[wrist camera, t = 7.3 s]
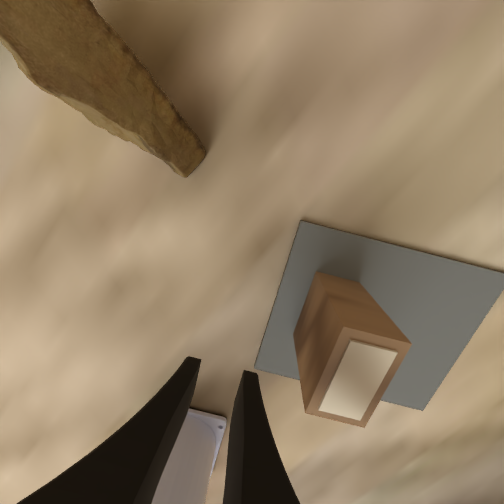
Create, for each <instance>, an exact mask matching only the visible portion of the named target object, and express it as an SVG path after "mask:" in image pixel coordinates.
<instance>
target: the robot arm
mask: <svg viewBox="0 0 504 504" xmlns="http://www.w3.org/2000/svg"><path fill="white" fill-rule="evenodd" d="M200 363H201V359H198V358H194V357H190V356H189V357H186V359H185V360H184V362H183V363H182V364H181V366H180V367H179V368H178V370H177V371H176V372H175V373H174V374H173V376H172V377H171V378H170V379H169V380H168V381H167V383H166V384H165V385H164V386H163V387H162V388H161V389H160V390H159V391H158V393H157V394H156V395H155V396H154V397H153V398H152V399H151V400H150V401H149V402H148V403H147V404H146V405H145V406H144V407H143V408H142V409H141V410H140V411H139V412H137V413H136V414H135V415H134V416H133V417H132V418H131V419H130V420H129V421H128V422H127V423H125V424H124V425H123V426H122V427H121V428H120V429H119V430H117V431H116V432H115V433H114V434H113V435H111V436H110V437H109V438H108V439H106V440H105V441H104V442H103V443H102V444H100V445H99V446H98V447H97V448H95V449H94V450H93V451H91V452H90V453H89V454H88V455H86V456H85V457H84V458H82V459H81V460H79V461H78V462H77V463H75V464H74V465H73V466H71V467H70V468H68V469H67V470H66V471H64V472H63V473H62V474H60V475H59V476H57V477H56V478H55V479H53V480H52V481H50V482H49V483H47V484H46V485H44V486H43V487H41V488H40V489H38V490H37V491H35V492H34V493H32V494H30V495H29V496H27V497H26V498H24V499H23V500H21V501H20V502H18V503H17V504H205V500H206V495H207V490H208V485H209V479H210V477H211V474H212V471H213V468H214V464H215V461H216V458H217V454H218V451H219V448H220V444H221V441H222V438H223V434H224V431H225V427H226V424H227V419H226V418H225V417H222V416H218V415H214V414H210V413H206V412H202V411H198V410H194V409H190V408H189V406H190V403H191V400H192V397H193V394H194V390H195V386H196V381H197V377H198V372H199V368H200ZM223 504H300V502H299V500H298V498H297V496H296V494H295V492H294V489H293V487H292V485H291V483H290V480H289V478H288V476H287V473H286V471H285V468H284V466H283V463H282V461H281V458H280V455H279V453H278V450H277V447H276V444H275V441H274V438H273V435H272V432H271V429H270V426H269V422H268V419H267V415H266V412H265V408H264V404H263V400H262V396H261V391H260V386H259V379H258V375H257V373H254V372H250V371H246V370H244V371H243V375H242V378H241V381H240V385H239V388H238V391H237V395H236V398H235V401H234V407H233V412H232V418H231V424H230V433H229V444H228V455H227V467H226V478H225V489H224V498H223Z"/></svg>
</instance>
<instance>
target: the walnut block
mask: <svg viewBox="0 0 504 504" xmlns="http://www.w3.org/2000/svg"><path fill="white" fill-rule="evenodd" d="M293 338H294V344H295V351H296V357H297V364H298V370H299V377H300V383H301V389H302V396H303V402H304V409H305V413H307V414H311V415H315V416H319V417H323V418H327V419H331V420H335V421H339V422H343V423H347V424H352V425H356V426H360V427H364V428H365V426H366V424H367V422H368V421H369V419H370V417H371V415H372V414H373V412H374V410H375V408H376V407H377V405H378V403H379V401H380V400H381V398H382V396H383V394H384V393H385V391H386V389H387V387H388V386H389V384H390V382H391V380H392V379H393V377H394V375H395V373H396V372H397V370H398V368H399V366H400V365H401V363H402V361H403V359H404V358H405V356H406V354H407V352H408V350H409V349H410V347H411V345H412V343H411V342H410V341H409V340H408V338H407V337H406V336H405V335H404V334H403V333H402V331H401V330H400V329H399V328H398V327H397V326H396V324H395V323H394V322H393V321H392V320H391V319H390V317H389V316H388V315H387V314H386V313H385V312H384V310H383V309H382V308H381V307H380V306H379V304H378V303H377V302H376V301H375V300H374V299H373V297H372V296H371V295H370V294H369V293H368V292H367V290H366V289H365V288H364V287H363V286H362V285H361V283H360V282H356V281H352V280H348V279H344V278H340V277H337V276H333V275H329V274H325V273H321V272H317V271H316V272H315V275H314V278H313V281H312V283H311V286H310V289H309V291H308V294H307V297H306V300H305V302H304V305H303V308H302V311H301V313H300V316H299V319H298V322H297V324H296V327H295V330H294V333H293Z"/></svg>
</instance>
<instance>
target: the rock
mask: <svg viewBox="0 0 504 504" xmlns="http://www.w3.org/2000/svg"><path fill="white" fill-rule="evenodd" d="M0 41H1V42H2V44H3V45H4V46H5V47H6V48H7V49H8V50H9V51H10V52H11V53H12V55H13V57H14V59H15V60H16V62H17V64H18V68H19V69H20V70H22V71H23V72H24V74H25V75H26V76H27V78H29V79H30V80H31V81H32V82H33V83H34V84H35V85H36V86H38V87H39V88H40V89H41V90H43V91H45V92H47V93H49V94H52V95H54V96H56V97H58V98H60V99H61V100H63V101H64V102H65V103H66V104H68V105H70V106H71V107H73V108H74V109H76V110H78V111H80V112H82V114H83V115H84V116H85V117H86V118H87V119H88V120H89V121H91V122H92V123H93V124H94V125H96V126H98V127H101V128H103V129H106V130H107V131H108V132H109V133H111V134H112V135H116V136H118V137H120V138H121V139H123V140H125V141H131V142H132V143H134V144H136V145H137V146H139V147H140V148H141V149H142V150H144V151H147V152H149V153H151V154H153V155H155V156H157V157H158V158H160V159H162V160H163V161H164V162H165V163H166V164H168V165H169V166H170V167H171V168H172V169H173V171H174V172H176V173H177V174H178V175H181V176H183V177H188V175H189V174H190V173H191V172H192V171H193V170H194V169H195V167H197V166H198V165H199V164H200V163H201V161H202V160H203V158H204V157H205V154H206V152H205V150H204V147H203V146H202V145H201V144H200V140H199V139H198V137H197V135H196V134H195V133H194V131H193V130H192V129H191V128H190V127H189V125H188V124H187V123H186V121H185V120H184V119H183V118H182V117H181V116H180V114H179V112H178V111H177V109H176V108H175V107H174V106H173V104H172V103H171V101H170V100H169V99H168V97H167V96H166V95H165V94H164V93H163V92H162V90H161V89H160V88H159V87H158V86H157V84H156V83H155V82H154V80H153V79H152V77H151V75H150V74H149V72H148V71H147V70H146V69H145V67H144V66H143V65H142V64H141V63H140V62H139V61H138V60H137V58H136V57H135V55H134V54H133V53H132V51H131V50H130V49H129V48H128V46H127V45H126V44H125V43H124V42H123V40H122V39H121V38H120V37H119V35H118V34H117V33H116V31H115V30H114V29H113V28H112V27H111V26H110V25H109V24H108V23H107V22H106V21H105V20H104V19H103V18H102V17H101V16H100V15H99V14H98V13H97V11H96V9H95V7H94V5H93V4H92V2H91V1H90V0H0Z"/></svg>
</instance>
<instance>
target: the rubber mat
mask: <svg viewBox="0 0 504 504" xmlns="http://www.w3.org/2000/svg"><path fill="white" fill-rule="evenodd" d="M316 271H317V272H321V273H325V274H329V275H333V276H337V277H340V278H344V279H348V280H352V281H356V282H360V283H361V285H362V286H363V287H364V288H365V289H366V290H367V292H368V293H369V294H370V295H371V296H372V297H373V299H374V300H375V301H376V302H377V303H378V304H379V306H380V307H381V308H382V309H383V310H384V312H385V313H386V314H387V315H388V316H389V317H390V319H391V320H392V321H393V322H394V323H395V324H396V326H397V327H398V328H399V329H400V330H401V331H402V333H403V334H404V335H405V336H406V337H407V338H408V340H409V341H410V342H411V343H412V345H411V347H410V349H409V350H408V352H407V354H406V356H405V358H404V359H403V361H402V363H401V365H400V366H399V368H398V370H397V372H396V373H395V375H394V377H393V379H392V380H391V382H390V384H389V386H388V387H387V389H386V391H385V393H384V394H383V396H382V398H381V401H385V402H389V403H393V404H397V405H401V406H405V407H409V408H413V409H417V410H421V411H423V410H424V408H425V407H426V405H427V404H428V402H429V401H430V399H431V398H432V396H433V395H434V393H435V392H436V390H437V389H438V387H439V386H440V384H441V383H442V381H443V380H444V378H445V377H446V375H447V374H448V372H449V371H450V369H451V368H452V366H453V365H454V363H455V362H456V360H457V359H458V357H459V356H460V354H461V353H462V351H463V350H464V348H465V347H466V345H467V344H468V342H469V341H470V339H471V338H472V336H473V335H474V333H475V332H476V330H477V329H478V327H479V326H480V324H481V322H482V321H483V319H484V318H485V316H486V315H487V313H488V312H489V310H490V309H491V307H492V306H493V304H494V303H495V301H496V300H497V298H498V297H499V295H500V294H501V292H502V291H503V289H504V273H503V272H499V271H495V270H491V269H487V268H483V267H479V266H476V265H472V264H468V263H464V262H460V261H456V260H452V259H449V258H445V257H441V256H437V255H433V254H429V253H425V252H421V251H418V250H414V249H410V248H406V247H402V246H398V245H394V244H391V243H387V242H383V241H379V240H375V239H371V238H367V237H364V236H360V235H356V234H352V233H348V232H344V231H340V230H336V229H333V228H329V227H325V226H321V225H317V224H313V223H309V222H306V221H302V220H300V223H299V227H298V230H297V233H296V236H295V239H294V242H293V245H292V249H291V252H290V255H289V258H288V261H287V264H286V268H285V271H284V274H283V277H282V280H281V283H280V287H279V290H278V293H277V296H276V299H275V302H274V305H273V309H272V312H271V315H270V318H269V321H268V324H267V328H266V331H265V334H264V337H263V340H262V343H261V346H260V350H259V353H258V356H257V359H256V362H255V365H254V369H257V370H261V371H265V372H269V373H273V374H277V375H281V376H285V377H289V378H293V379H297V380H300V377H299V370H298V364H297V357H296V351H295V344H294V338H293V333H294V330H295V327H296V324H297V322H298V319H299V316H300V313H301V311H302V308H303V305H304V302H305V300H306V297H307V294H308V291H309V289H310V286H311V283H312V281H313V278H314V275H315V272H316Z"/></svg>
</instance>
